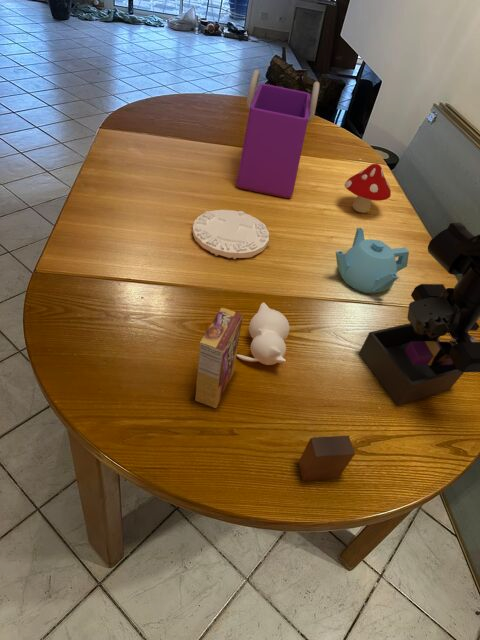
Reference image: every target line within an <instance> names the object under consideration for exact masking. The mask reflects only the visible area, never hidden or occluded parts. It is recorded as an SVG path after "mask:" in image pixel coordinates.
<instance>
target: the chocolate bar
mask: <svg viewBox="0 0 480 640" xmlns="http://www.w3.org/2000/svg"><path fill="white" fill-rule="evenodd" d="M449 341H450V340H446V341H445V340H440V341H415V342H410V343H409V345H408V346H407V348H406V349H405V352H406V353H407V355H408V357H409V359H410V361H411V363H412V365H431V363H432V361H433V359H434V358H435V356H436V355H437V353H438V352H439V350H440V349H441V346H440V345H439V343H438V342H449ZM452 364H453V361H452V360H449V361H447V362H445V363H442V364H440V365H452Z"/></svg>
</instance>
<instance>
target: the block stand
mask: <svg viewBox="0 0 480 640" xmlns="http://www.w3.org/2000/svg"><path fill="white" fill-rule="evenodd" d="M350 438H351V437H350V435H335V436H334V435H333V436H331V435H330V436H315V437H314V436H313V437H310V439H308V442H307V444H306V446H305V448H304V450H303V452H302V454H301V456H300V458H299V460H298V462H297V465H298V469H299V473H300V477H301V480H302V482H309V481H312V482H313V481H322V480H323V481H325V480H334V479H335V480H337V479H340V477H341V476H342V474H343V473H344V471H345V470H346V469H347V466H348V465H349V464H350V463H351V460H352V459H353V458H354V457H355V455H356V451H355V449H354V447H353V443H352V441H351V439H350Z"/></svg>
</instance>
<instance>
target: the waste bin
mask: <svg viewBox="0 0 480 640" xmlns="http://www.w3.org/2000/svg"><path fill="white" fill-rule="evenodd" d="M423 335H424V334H422V335H421V334H417V333H416V332H415V331H414V328H413V326H412V324H411V323H410V322H409V323H405V324H400V325H396V326H391V327H387V328H381V329H378V330H377V329H376V330H372V331H370V332H368V335H367V337H366V339H365V340H364V342H363V344H362V346H361V348H360V350H359V352H358V355H359V356H360V358H361V359H362V361H363V362H364V363H365V365H366V366H367V368H368V369H369V370H370V371H371V373H372V374H373V376H374V377H375V378H376V379H377V381H378V382H379V383H380V385H381V387H382V388H383V389H384V390H385V392H386V393H387V394H388V396H389V397H390V398H391V400H392V401H393V402H394V404H395V405H396V407H397V406H403V405H405V404H408V403H411V402H414V401H418V400H422V399H424V398H427V397H431V396H435V395H438V394H441V393H443V392H448V391H450V390H451V389H452V388H453V386H454V385H455V384H456V383H457V381H459V379H460V378H461V377H462V375H463V374H464V373H465V372H461V371H459V370H458V369H457V368H456V366H455V365H454V363H453V364H452V365H438V366H432V365H412V363H411V361H410V359H409V357H408V355H407V353H406V352H405V349H406V348H407V346H408V345H409V343H410V342H415V341H423ZM436 341H441V340H440V339H439V338H438V339H437V340H436Z"/></svg>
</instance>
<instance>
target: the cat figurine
mask: <svg viewBox="0 0 480 640" xmlns="http://www.w3.org/2000/svg"><path fill="white" fill-rule="evenodd" d="M248 325H249V326H248V331H249V336H250V337H251V339H252V341H251V342H250V347H249V348H250V353H251V355H252V356H253V357H250V356H247V355H242V354H236V358H238V359H239V360H242V361H245V362H253V363H254V362H255V363H256V362H259V363H260V364H263V365H266V366H273V365H276V364H278V363H279V364H286V362H287V359H285V358H284V357H285V356H286V353H287V345H286V342H285V341H286V340H287V338H288V337H289V334H290V329H291V328H290V322H289V321H288V319H287V317H286V316H285V314H283V313H282V312H281V311H278V310H277V309H273V308H270V307H269V306H268V305H267V304H266V303H265V302H262V303H260V305H259V308H258V311H257V312H256V314H255V315H253V317H252V318H251V320H250V322H249V324H248Z"/></svg>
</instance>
